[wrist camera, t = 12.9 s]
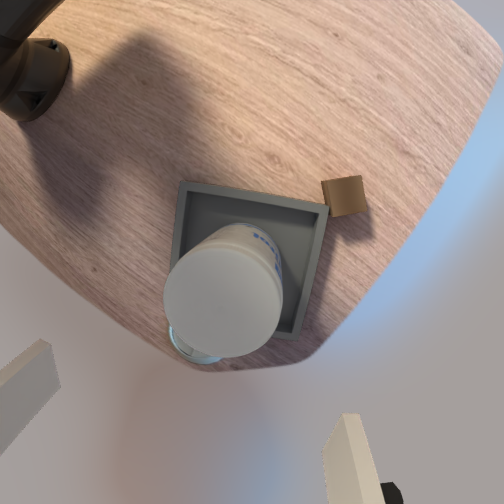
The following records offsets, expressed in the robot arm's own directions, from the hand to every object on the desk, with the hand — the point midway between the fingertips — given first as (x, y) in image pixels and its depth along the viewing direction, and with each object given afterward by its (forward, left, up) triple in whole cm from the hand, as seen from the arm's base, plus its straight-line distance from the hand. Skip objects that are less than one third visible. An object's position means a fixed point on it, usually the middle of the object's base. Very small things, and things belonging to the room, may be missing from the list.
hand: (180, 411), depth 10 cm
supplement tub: (0, 0, -26) cm, 26 cm away
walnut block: (+10, +10, -27) cm, 30 cm away
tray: (0, 0, -27) cm, 27 cm away
